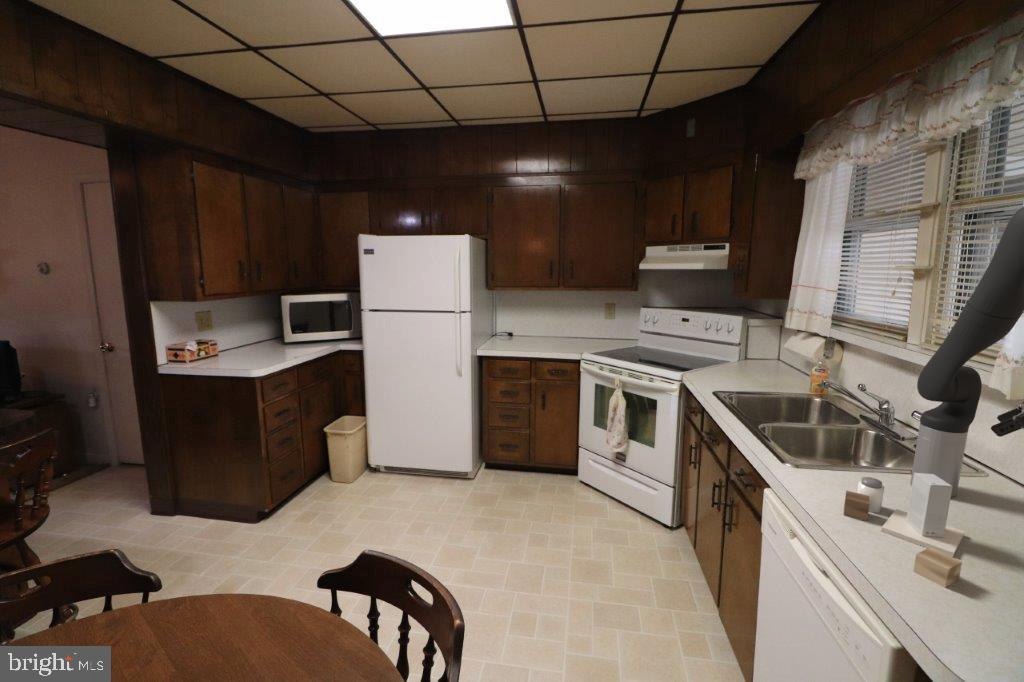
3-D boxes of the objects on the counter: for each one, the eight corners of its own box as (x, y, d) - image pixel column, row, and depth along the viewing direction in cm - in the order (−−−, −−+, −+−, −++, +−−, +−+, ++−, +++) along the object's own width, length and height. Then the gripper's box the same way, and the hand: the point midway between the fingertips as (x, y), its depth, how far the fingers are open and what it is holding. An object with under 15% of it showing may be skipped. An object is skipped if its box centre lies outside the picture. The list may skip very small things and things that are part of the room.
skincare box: (944, 538, 102) (954, 486, 100) (921, 536, 102) (930, 484, 100) (926, 522, 108) (934, 473, 105) (904, 520, 108) (912, 472, 106)
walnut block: (844, 507, 116) (846, 490, 115) (866, 513, 114) (869, 495, 113) (843, 515, 113) (845, 498, 112) (867, 521, 110) (869, 503, 109)
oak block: (927, 565, 95) (930, 547, 94) (958, 580, 90) (962, 561, 90) (913, 572, 93) (916, 553, 92) (944, 588, 88) (948, 569, 88)
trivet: (895, 512, 114) (896, 509, 113) (963, 535, 104) (964, 531, 104) (881, 531, 106) (881, 527, 106) (953, 557, 97) (953, 552, 97)
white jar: (859, 500, 120) (862, 474, 118) (883, 508, 116) (887, 481, 115) (852, 506, 116) (856, 480, 115) (877, 515, 113) (881, 487, 111)
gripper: (1083, 360, 90) (986, 403, 101) (1080, 374, 81) (975, 419, 92) (1120, 394, 87) (1017, 433, 98) (1122, 412, 78) (1009, 453, 89)
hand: (997, 426), depth 95 cm, fingers open, 8 cm apart
